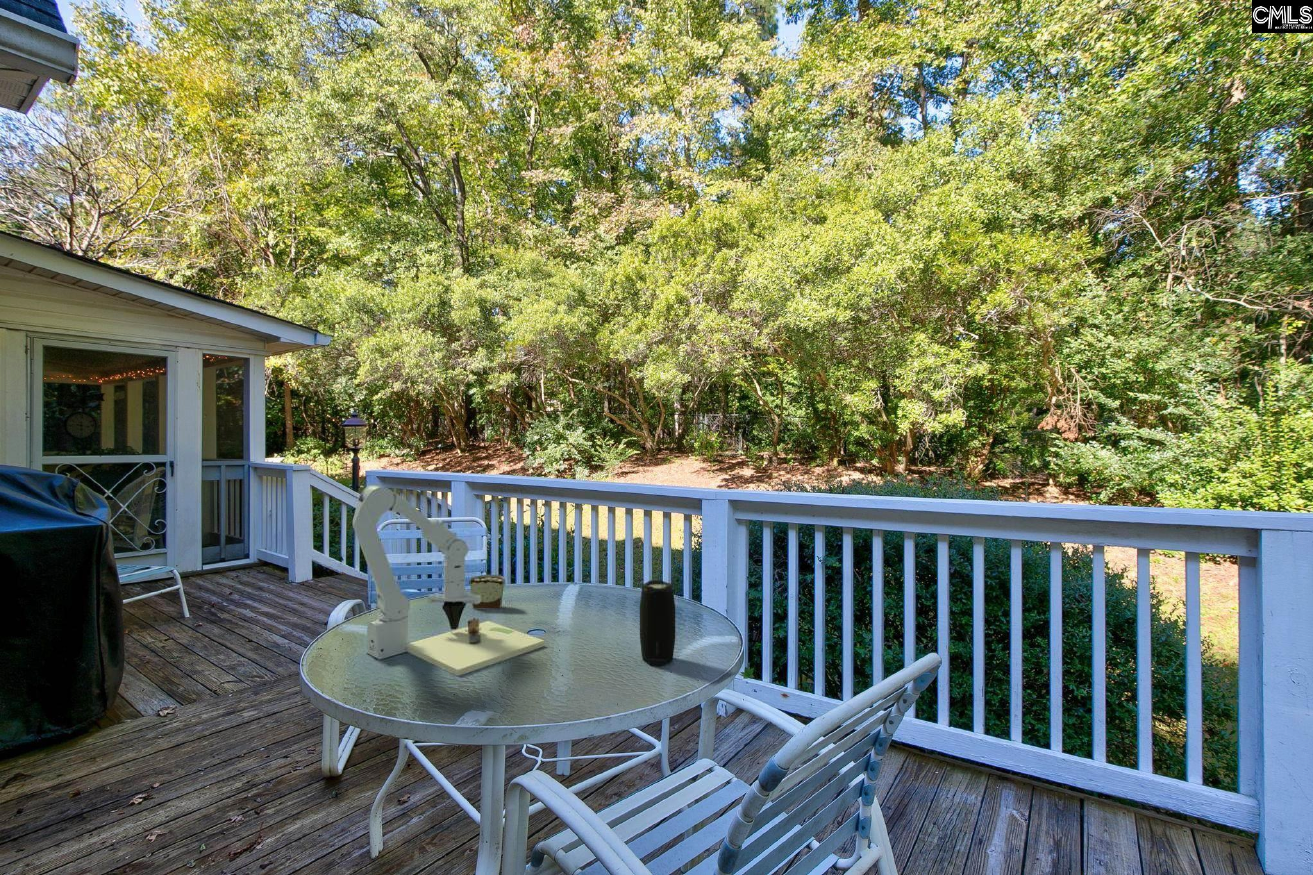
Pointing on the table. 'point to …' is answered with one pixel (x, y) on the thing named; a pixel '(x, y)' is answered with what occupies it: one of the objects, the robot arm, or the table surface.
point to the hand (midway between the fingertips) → (454, 628)
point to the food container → (488, 591)
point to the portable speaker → (657, 622)
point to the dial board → (473, 648)
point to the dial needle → (474, 631)
